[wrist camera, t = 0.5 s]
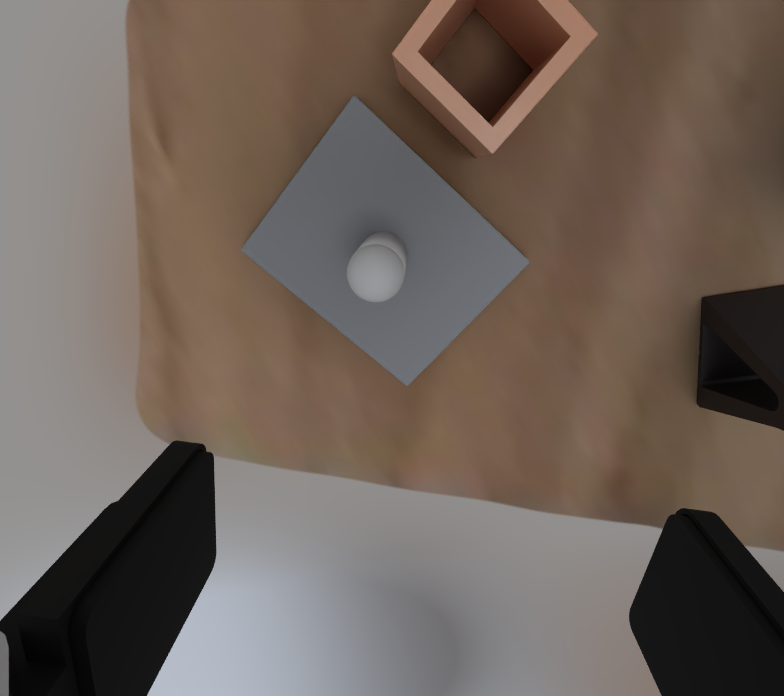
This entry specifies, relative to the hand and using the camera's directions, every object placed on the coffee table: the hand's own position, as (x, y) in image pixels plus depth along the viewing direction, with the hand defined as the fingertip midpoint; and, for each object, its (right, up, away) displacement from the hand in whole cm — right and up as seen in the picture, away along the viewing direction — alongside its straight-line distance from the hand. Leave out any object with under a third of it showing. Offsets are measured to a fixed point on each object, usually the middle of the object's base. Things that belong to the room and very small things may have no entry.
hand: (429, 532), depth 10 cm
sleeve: (+5, +21, +21) cm, 30 cm away
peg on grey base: (-1, +11, +25) cm, 27 cm away
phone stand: (+26, +4, +26) cm, 37 cm away
